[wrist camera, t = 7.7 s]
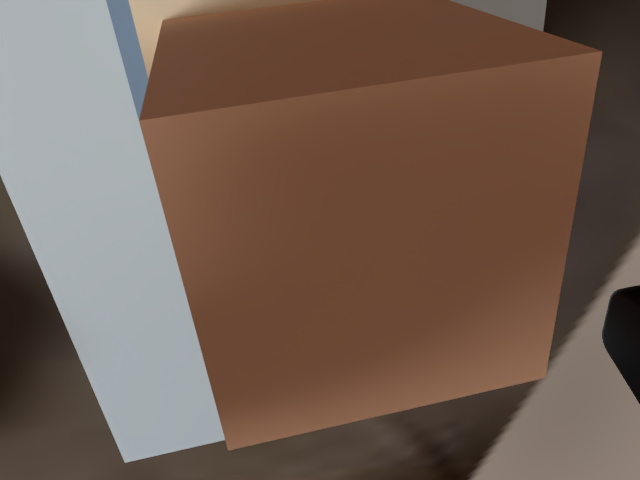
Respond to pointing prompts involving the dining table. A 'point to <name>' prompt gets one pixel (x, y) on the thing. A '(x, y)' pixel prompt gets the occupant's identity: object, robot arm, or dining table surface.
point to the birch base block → (183, 16)
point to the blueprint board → (111, 212)
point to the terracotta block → (366, 202)
